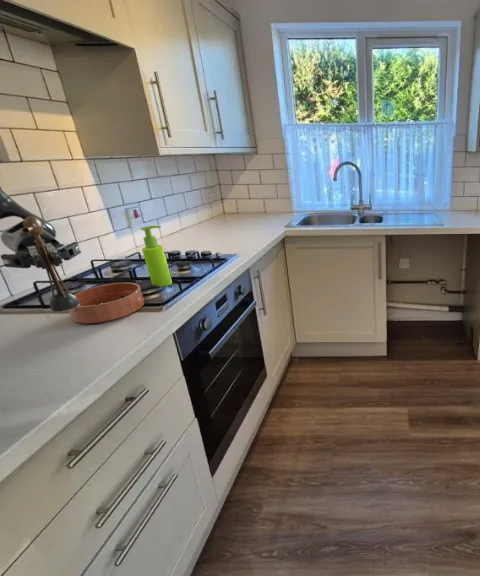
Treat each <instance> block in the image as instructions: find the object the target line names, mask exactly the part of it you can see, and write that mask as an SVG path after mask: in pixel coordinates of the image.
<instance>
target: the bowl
mask: <svg viewBox="0 0 480 576" xmlns="http://www.w3.org/2000/svg"><path fill="white" fill-rule="evenodd" d="M73 295H74V296H75V297H76V298H77V299H78V301H79V303H80V304H79V305H78V306H77V307H74V308H72V309H69V310H68V313H69V315H70V318H71V320H72V321H73V322H75V323H78V324H98V323H105V322H110V321H113V320H118V319H121V318H123V317H126V316H129V315H131V314H132V313H134V312H136V311H138V310H140V309H141V308H142V307H143V306H144V305H145V298H144V295H143V291H142V288H141V285H139V284H138V283H135V282H114V283H108V284H101V285H97V286H94V287H90V288H87V289H84V290H81V291H79V292H77V293H73ZM121 296H123V297H124V298H121ZM101 303H103V304H101ZM96 304H98V305H96Z"/></svg>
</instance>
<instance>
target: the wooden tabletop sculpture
mask: <svg viewBox="0 0 480 576" xmlns="http://www.w3.org/2000/svg"><path fill="white" fill-rule="evenodd" d="M22 221H23V220H22ZM23 226H24V228H23V229H22V231H23V232H24V233H28V234H30V235H33V236H35V239H36V240H35V241H34V242H35V243H36V246H37V248H38V251H39V253H40V255H41V257H42V258H43V260H44V262H45V265H46V267H47V269H45V271H46V274H47V277H48V281H49V284H50V289H51V294H52V295H51V296H52V297H51V298H50V300H49V308H50V311H52V312H54V313H55V312H64V311H69V309H72V308H74V307H77V306H78V305H79V304H80V303H79V301H78V299H77V298H76V297H75V296H74V294H72V293H71V292H70V291H69V289H68V288H67V286H66V285H65V283H64V282H63V280H62V278H61V276H60V274H59V272H58V270H57V268H56V266H55V265H54V264H53V262H52V259H51V257H50V254H49V251H48V249H47V246H46V244H45V241H44V239H41V237H40V234H42V232H43V230H44V229H43V224H42V222H41V221H40V220H39V219H38V218H36V217H34V216H29V217H26V218H25V219H24V221H23ZM45 249H46V250H45ZM47 254H48V255H47ZM49 259H50V260H49ZM51 264H52V265H51ZM61 285H62V286H61ZM62 287H63V288H62ZM63 289H64V290H65V291H64V290H63ZM55 291H56V293H55Z"/></svg>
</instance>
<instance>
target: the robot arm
mask: <svg viewBox="0 0 480 576" xmlns="http://www.w3.org/2000/svg"><path fill="white" fill-rule="evenodd" d="M29 216H34V217H36V218H38V219H39V220H40V221H41V222H42V224H43V229H44V230H43V232H42V234H40V237H41V239H44V241H45V244H46V246H47V249H48V251H49V254H50V257H51V259H52V262H53V264H54V266H55V268H56V267H60V266H61V264H63V260H64V261H70V260H72V259H74V258H75V257H77V256H78V255H80V254H81V253H82V250H81V248H80V245H79V242H77V241H73V242H71V243H67V244H66V245H65V244H63V243H60V242H59V240H57V238H56V237H57V230H56V228H55V227H54V226H53V224H51V223H50V222H49V221H47V220H45V219H44V218H42V217H40V216H39V215H37V214H35V213H33V212H31V211H29V210H27V209H26V208H24V207H23V206H22V205H20V204H19V203H18V202H16V201H15V200H14V199H13V198H12V197H11V196H9V195H8V194H7V193H6V192H5V191H4V190H3V189H2V188H0V220H4V219H7V218H11V217H16V218H20V219H21V221H19V222H18V223H15V224H14V225H12V226H10V227H8V228H6V229H5V230H3V231H2V232H1V233H0V241H1V242H2V244H3V245H4V246H5V247H6V248H7V249H9V250H10V251H12V252H14V253H9V254H8V253H3V254H1V255H0V259H1V261H2V263H3V265H4V267H5V268H14V269H15V268H16V269H30V268H31V267H32V266H34V267H35V268H36V269H42V270H46V269H47V267H46V265H45V262H44V260H43V258H42V257H41V255H40V253H39V251H38V248H37V246H36V243H35V242H34V241H35V240H36V239H35V236H33V235H30V234H28V233H24V232H23V231H22V229H23V228H24V226H23V221H24V219H25V218H26V217H29ZM45 250H46V249H45ZM47 255H48V254H47ZM49 260H50V259H49ZM51 265H52V264H51Z"/></svg>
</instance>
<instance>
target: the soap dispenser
mask: <svg viewBox="0 0 480 576" xmlns="http://www.w3.org/2000/svg"><path fill="white" fill-rule="evenodd" d="M161 228H162V226H161V225H156V224H155V225H147V226H146V225H145V226H143V227H140V230H141V231H143V232H144V234H145V236H144V237H143V242H144V245H145V247H143V248H142V249H141V251H142V256H143V258H144V262H145V265H146V269H147V272H148V274H149V278H150V282H151V285H152V284H153V285H157V286H166V287H169V286H171V285H172V284H173V280H172V276H171V273H170V268H169V265H168V261H167V258H166V254H165V250H164V247H163V245H162V244H161V245H160V244H158V241H157V237H156V236H155V235H153V233H152V229H161ZM153 285H152V286H153ZM168 285H169V286H168Z"/></svg>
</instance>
